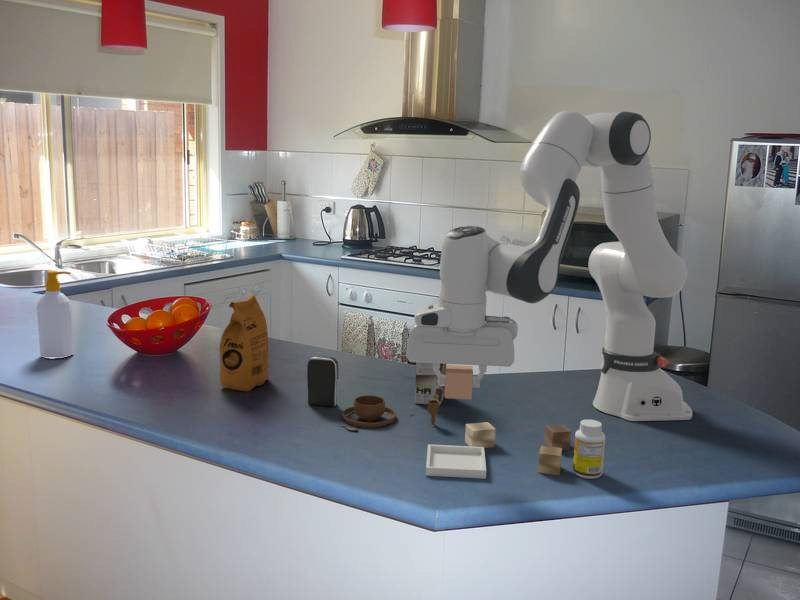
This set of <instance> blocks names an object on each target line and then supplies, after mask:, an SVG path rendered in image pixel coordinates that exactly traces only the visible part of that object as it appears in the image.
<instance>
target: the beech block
mask: <svg viewBox="0 0 800 600" xmlns="http://www.w3.org/2000/svg"><path fill="white" fill-rule="evenodd" d="M464 443H466V445H468V446H471V447H484V449H485V448H487V449H488V448H495V447H496V427H494V426H493V425H492V424H491V423H489V422H488V421H487V422H485V421H483V422H474V423H472V422H471V423H465V435H464Z"/></svg>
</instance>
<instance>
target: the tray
mask: <svg viewBox="0 0 800 600" xmlns="http://www.w3.org/2000/svg"><path fill="white" fill-rule="evenodd" d="M426 451H427V452H426V463H425V464H426V465H425V476H428V477H429V476H430V477H447V478H466V479H467V478H468V479H469V478H470V479H483V480H484V479H487V463H486V456H485V455H486V454H485V453H486V452H485V448H484V447H471V446H469V445H468V446H467V445H466V446H465V445H451V444H449V445H447V444H429V443H428V444H427V450H426Z"/></svg>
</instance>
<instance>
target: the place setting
mask: <svg viewBox="0 0 800 600" xmlns="http://www.w3.org/2000/svg"><path fill="white" fill-rule="evenodd" d="M439 410H440V405H439V401H437V400H429V401H428V405H427V411H428V413H429V414H430V416H431V418H430V424H431V425H435V426H436V423H435V422H436V418H435V417H436V415H437V414H438V413H439ZM353 411H354V414H355V415H356V416H357V417H358V418H361V419H362V421H357V420H353V419H350V418H349V417H348V416H347V417H346V415H347V414H349V413H351V412H353ZM384 412H387V413H388V414H390V415H391V416H392V418H389V419H386V420H383V421H378V422H375V421H377V420H378V419H379V418H380V417H382V416H383V415H384V414H385V413H384ZM351 414H352V413H351ZM388 414H387V415H388ZM413 414H414V415H416V414H415V413H413ZM390 415H389V416H390ZM409 415H410V416H409V417H413V416H414V415H412V414H409ZM391 416H390V417H391ZM396 416H397V412H396V411H395V410H394V409H392V408H390V407H388V406H386V399H385V398H384V397H382V396H378V395H371V394H369V395H366V394H365V395H360V396H356V397H355V398H354V400H353V406H350V407H347V408H345V409H344V410H343V411H342V418H343V420H344V421H345V423H347V424H349V423H350V424H349V425H351V424H352V425H351V427H352V428H354V429H355V430H350V429H347V428H346V427H349V426H347V425H344V427H343V428H345V429H346V430H347V431H349V430H350V431H349V432H356V431H358V430H359V429H358V428H357V427H358V426H362V427H361V428H366V427H374V428H379V427H378V426H382V427H385V426H384V425H386V426H388V424H389V425H391V424H392V423H393V422H394V421H395V420H396ZM361 419H360V420H361ZM376 419H377V420H376ZM364 420H367V421H364ZM373 420H375V421H373ZM390 423H391V424H390ZM353 425H356V426H353Z"/></svg>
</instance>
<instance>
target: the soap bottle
mask: <svg viewBox="0 0 800 600" xmlns="http://www.w3.org/2000/svg"><path fill="white" fill-rule="evenodd" d="M46 273H47V279H46V281H45V293H44V294H42V296H40V298H39V299H38V301H37V305H36V311H37V312H36V313H37V314H36V315H37V330H38V343H39V356H40V355H41V356H44V357H64V356H69V355H72V354H73V353H74V354H75V344H74V328H73V315H72V313H73V311H72V304H71V301H70V299H69V298H68V296H67V295H65V294H64V293H63V292H61V285H60V281H59V279H58V278H57V276H58V275H64V274H66V275H71V272H69V271H66V270H65V271H64V270H63V271H57V270H48V271H46ZM74 354H73V355H74ZM41 356H40V357H41Z"/></svg>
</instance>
